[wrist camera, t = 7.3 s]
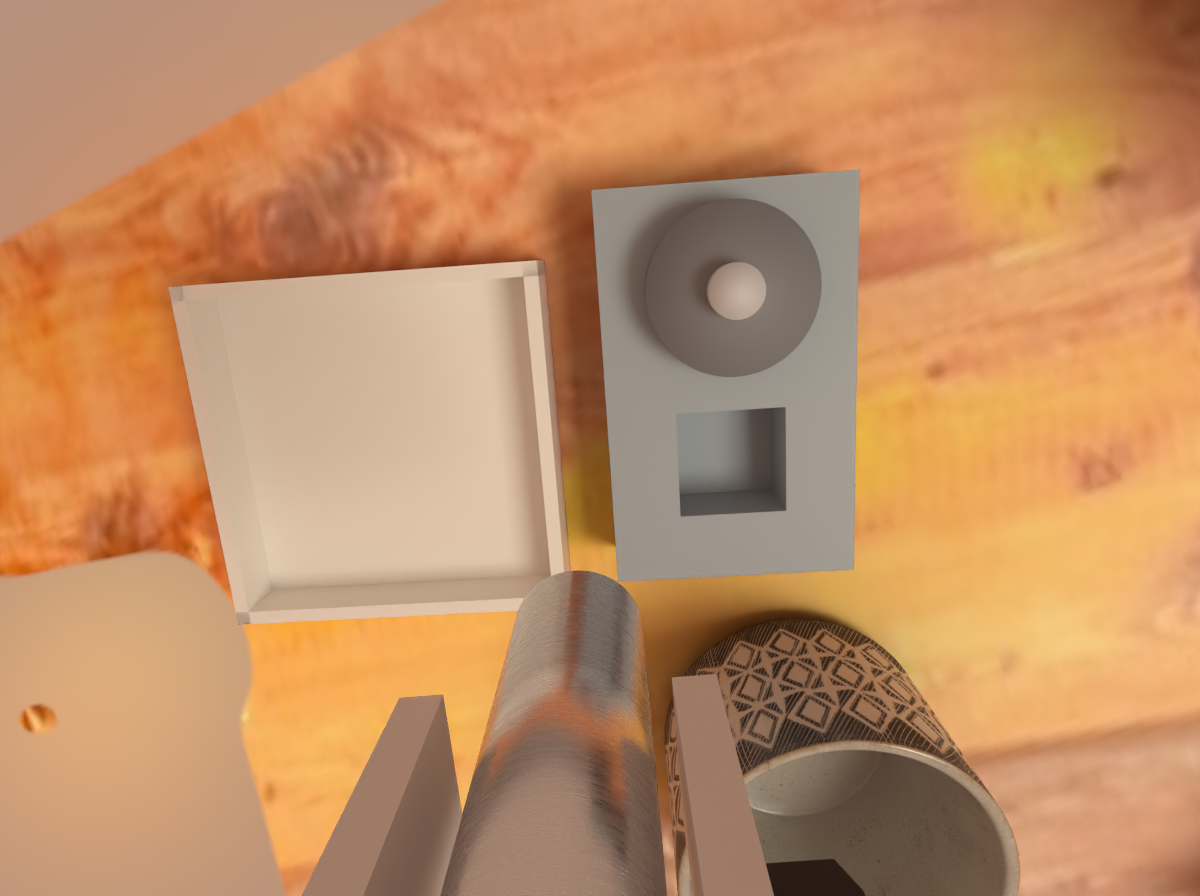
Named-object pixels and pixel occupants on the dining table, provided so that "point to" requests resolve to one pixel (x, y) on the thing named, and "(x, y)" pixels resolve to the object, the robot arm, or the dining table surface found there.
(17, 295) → the dining table surface
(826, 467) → the block
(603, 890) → the lock pin
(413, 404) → the tray
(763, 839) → the planter
